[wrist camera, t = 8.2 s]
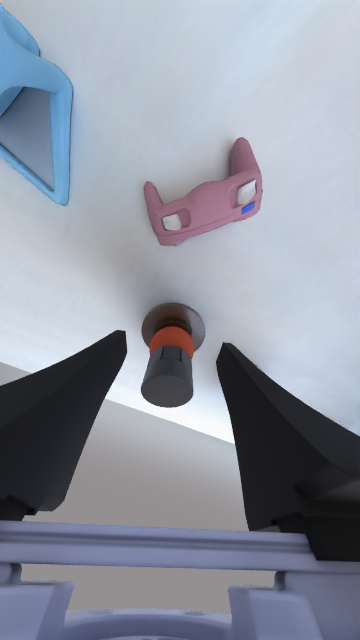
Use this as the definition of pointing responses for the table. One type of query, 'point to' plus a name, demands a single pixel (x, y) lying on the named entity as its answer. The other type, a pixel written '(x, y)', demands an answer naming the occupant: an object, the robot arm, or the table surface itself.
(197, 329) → the ball stand
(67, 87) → the chair
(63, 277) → the table surface
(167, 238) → the pink toy car
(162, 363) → the cap
